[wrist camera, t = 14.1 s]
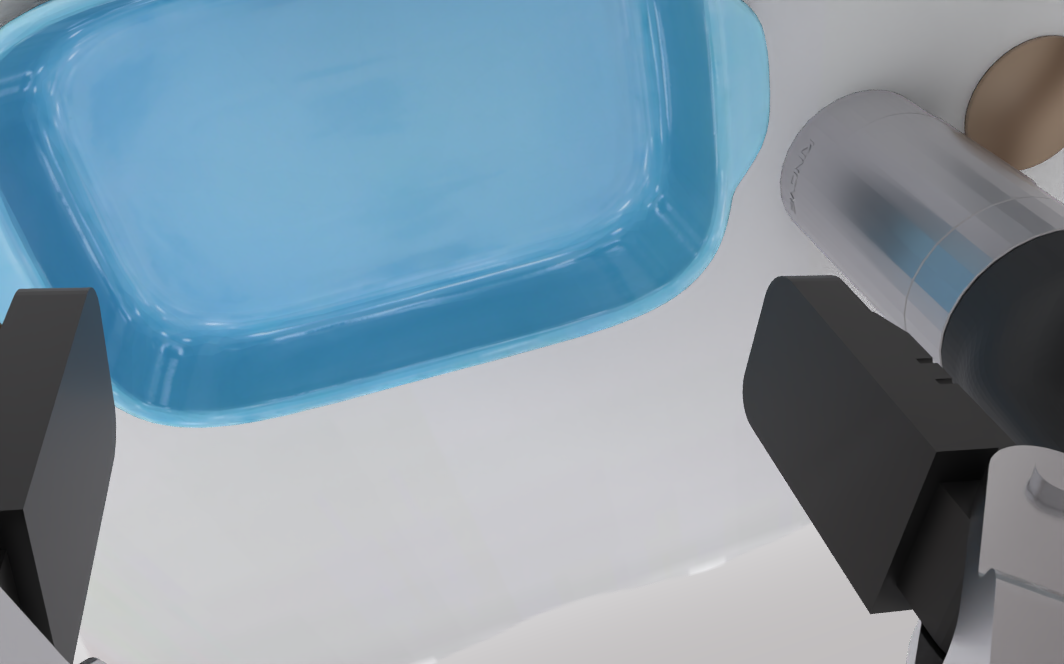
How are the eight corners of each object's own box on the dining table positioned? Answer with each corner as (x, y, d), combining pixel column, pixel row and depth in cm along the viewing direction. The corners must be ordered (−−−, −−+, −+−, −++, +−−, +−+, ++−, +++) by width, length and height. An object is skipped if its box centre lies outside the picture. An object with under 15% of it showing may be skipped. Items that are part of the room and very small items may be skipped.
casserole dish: (705, -196, 45) (769, -176, 40) (731, 226, 58) (783, 287, 52) (-114, -7, 43) (-174, 44, 37) (104, 393, 55) (85, 478, 50)
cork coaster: (1115, 38, 57) (1120, 40, 56) (1061, 169, 61) (1065, 171, 60) (993, 32, 55) (997, 34, 54) (946, 168, 59) (950, 170, 59)
